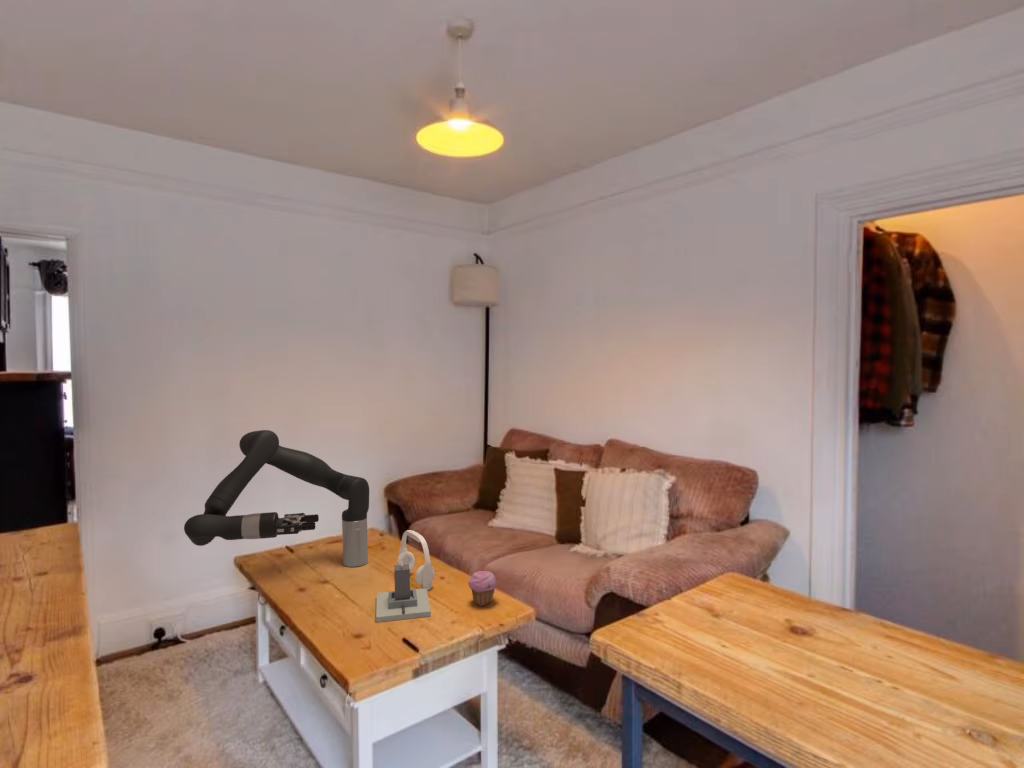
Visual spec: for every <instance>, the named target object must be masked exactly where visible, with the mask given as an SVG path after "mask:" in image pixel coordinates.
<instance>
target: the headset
mask: <svg viewBox="0 0 1024 768" xmlns="http://www.w3.org/2000/svg"><path fill="white" fill-rule="evenodd" d="M407 537H409V538H411V539H413V540H415V541H416V542H418V543H420V544H421V547H422V550H423V555H424V556H423V557H424V564H422V565H420V566H419V567H418V569H417V570H416V572H415V580H416V583H417V584H418V585H419V586H421V587H422V588H426V589H427V591H429V590H430V589H432V587H433V580H434V578H435V569H434V567H433V564H432V562H431V557H430V550H429V546H428V543H427V541H426V539H425V538H424V536H423V535H421V534H420V533H419V532H417V531H414V530H412V529H411V530H410V529H409V530H408V529H407V530H405V531H404V532H403V534H402V538H401V543H400V547H399V550H398V551H399V552H398V557H397V560H396V565H401V561H402V562H403V565H405V564H409V568H410V572H411V571H412V570H413V568H414V566H415V563H416V559H415V556H414V554H413V553H412V552H410V551H408V548H407V539H408V538H407Z"/></svg>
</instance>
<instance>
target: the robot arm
mask: <svg viewBox="0 0 1024 768" xmlns="http://www.w3.org/2000/svg"><path fill="white" fill-rule="evenodd" d="M239 449H240V451H241V453H242V455H244V458H243V460H242V461H241V462H240V463H239V464H238V465H237V466H236V467H235V468H234V469H232V471H230V472H229V474H227V475H226V476H225V477H224V478H222V480H221V481H220V482H219V483H218V484H217V485H216V487H215V488H214V489H213V491H212V492H211V493H210V495H209V497H208V498H207V500H206V501H205V502H204V511H203V513H202V514H201V513H200V514H197V515H194V516H191V517H190V518H188V519H187V520H186V521H185V523H184V526H183V530H184V533H185V535H186V537H187V538H188V539H189V540H190V541H191V543H192V544H193V545H195V546H198V547H203V546H206V545H208V544H209V543H211V542H212V541H213V540H215V538H222V539H223V540H225V541H226V540H227V541H235V540H261V539H262V540H263V539H274V538H277V537H278V536H281V535H285V536H286V535H298V534H299V533H301V532H302V531H304V532H305V531H314V530H316V523H318V522H319V520H320V519H319V514H318V513H317V514H307V515H306V513H304V512H299V513H289V514H288V513H285V514H284V516H283V517H281V518H280V517H279V514H278V512H276V511H274V512H272V511H271V512H257V513H256V512H254V513H249V514H241V515H229V516H227V514H228V512H229V511H230V509H231V508H232V507H233V505H234V504H235V502H236V501H237V500H238V498H239V496H240V495H241V493H242V492H243V491H244V489H245V488H246V487H247V486H248V485H249V483H250V482H251V480H252V479H253V478H254V477H255V476H256V475H257V473H258V472H259V471H260V470H261V469H262V468H263V467H264V466H265V464H266V465H270V466H273V467H275V468H276V469H278V470H280V471H282V472H284V473H287V474H288V475H291V476H292V477H294V478H297V479H299V480H301V481H302V482H303V481H304V482H306V483H308V484H311V485H314V486H318V487H320V488H324V489H326V490H328V491H330V492H331V493H333V494H335V495H336V496H337V497H339V498H341V499H343V500H346V501H348V502H347V503H348V504H347V506H348V507H347V508H346V509H345V510H343V511H342V512H341V528H342V529H341V530H342V531H341V532H342V533H341V534H342V536H341V537H342V564H343V566H345V567H349V568H356V567H361V566H364V565H366V564H367V563H368V562H369V543H368V541H369V540H368V536H369V535H368V512H369V509H370V485H369V482H368V481H367V479H365V478H363V477H362V476H361V477H360V476H356V475H349V474H346V473H342V472H340V471H337V470H335V469H334V468H332V467H331V466H329V464H328V463H326V461H324V460H322V458H319V457H318V456H316V455H314V454H311V453H308V452H305V451H302V450H297V449H294V448H289V447H284V446H282V445H280V440H279V437H278V435H277V434H276V432H274V431H272V430H269V429H261V430H255V431H250V432H247V433H245V434H244V435H243V436H242V437H241V438H240V440H239Z"/></svg>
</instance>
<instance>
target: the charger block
mask: <svg viewBox="0 0 1024 768" xmlns="http://www.w3.org/2000/svg"><path fill="white" fill-rule="evenodd" d="M393 567H394V571H393V572H394V573H393V574H394V575H393V576H394V578H393V579H394V591H395V601H397V600H407V599H410V589H411V579H410V578H411V575H410V574H411V573H410V572H411V571H410V568H409V564H405V565H403V562H402V561H401V565H397V564H395V565H394V566H393Z"/></svg>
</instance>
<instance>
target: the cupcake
mask: <svg viewBox="0 0 1024 768" xmlns="http://www.w3.org/2000/svg"><path fill="white" fill-rule="evenodd" d="M468 586H469V587H468V588H469V589H470V590H471V596H472V599H473V602H474V603H475V604H477V605H479V606H480V607H484V606H486V605H488V604H490V603H491V601H492V600H493V599H494V596H495V589H496V588H497V578H496V576H495V574H494V573H492V572H491V571H488V570H479V571H475V572H473V574H472V575H471V576H470V577H469V579H468Z"/></svg>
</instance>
